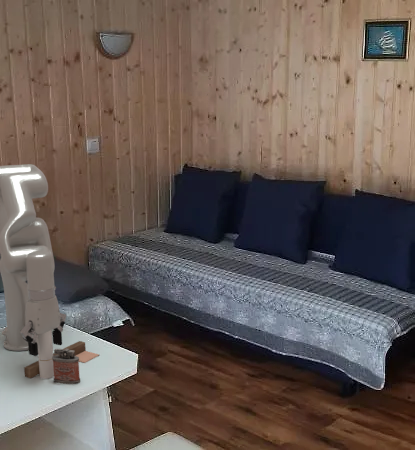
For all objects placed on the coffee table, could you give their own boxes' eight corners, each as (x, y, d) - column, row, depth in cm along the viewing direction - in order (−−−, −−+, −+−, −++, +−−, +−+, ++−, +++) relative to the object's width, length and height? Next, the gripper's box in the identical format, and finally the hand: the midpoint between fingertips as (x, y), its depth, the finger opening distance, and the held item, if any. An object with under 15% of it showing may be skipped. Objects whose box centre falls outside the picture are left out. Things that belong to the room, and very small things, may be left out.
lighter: (82, 380, 199) (80, 348, 196) (77, 385, 195) (75, 352, 193) (56, 378, 200) (54, 346, 198) (51, 382, 197) (49, 350, 195)
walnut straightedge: (24, 376, 201) (24, 367, 201) (80, 349, 221) (79, 340, 221) (30, 378, 200) (29, 369, 199) (85, 350, 220) (85, 342, 219)
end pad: (70, 359, 214) (70, 358, 214) (85, 351, 219) (85, 350, 219) (84, 363, 210) (84, 362, 210) (99, 355, 216) (99, 354, 216)
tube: (50, 379, 199) (47, 331, 196) (37, 378, 200) (33, 330, 197) (56, 373, 204) (53, 325, 200) (43, 372, 204) (40, 325, 201)
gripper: (53, 284, 206) (57, 338, 209) (9, 299, 191) (14, 357, 194) (72, 287, 202) (75, 342, 205) (28, 303, 187) (33, 362, 191)
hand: (45, 349), depth 200 cm, fingers open, 9 cm apart
